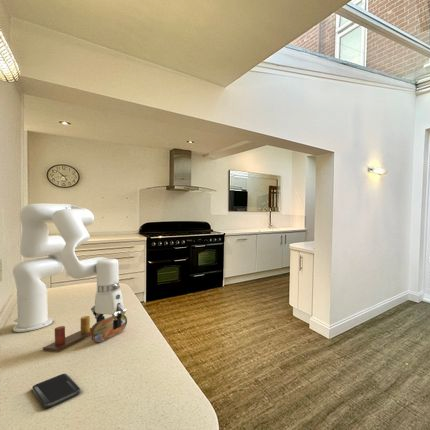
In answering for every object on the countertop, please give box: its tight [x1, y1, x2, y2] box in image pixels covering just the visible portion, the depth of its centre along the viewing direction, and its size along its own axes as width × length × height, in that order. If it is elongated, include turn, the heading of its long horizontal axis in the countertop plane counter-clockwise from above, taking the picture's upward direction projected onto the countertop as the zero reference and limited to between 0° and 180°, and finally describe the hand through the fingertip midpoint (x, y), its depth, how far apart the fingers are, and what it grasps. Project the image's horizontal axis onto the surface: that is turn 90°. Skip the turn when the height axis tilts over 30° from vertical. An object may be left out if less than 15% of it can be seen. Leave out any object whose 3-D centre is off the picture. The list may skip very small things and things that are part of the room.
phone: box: [32, 373, 81, 409], centre depth 82 cm, size 8×1×15 cm
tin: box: [89, 314, 128, 343], centre depth 115 cm, size 15×3×8 cm, turn 168°
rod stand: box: [42, 315, 92, 353], centre depth 112 cm, size 7×17×8 cm, turn 172°
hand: (108, 326), depth 115 cm, fingers open, 7 cm apart
